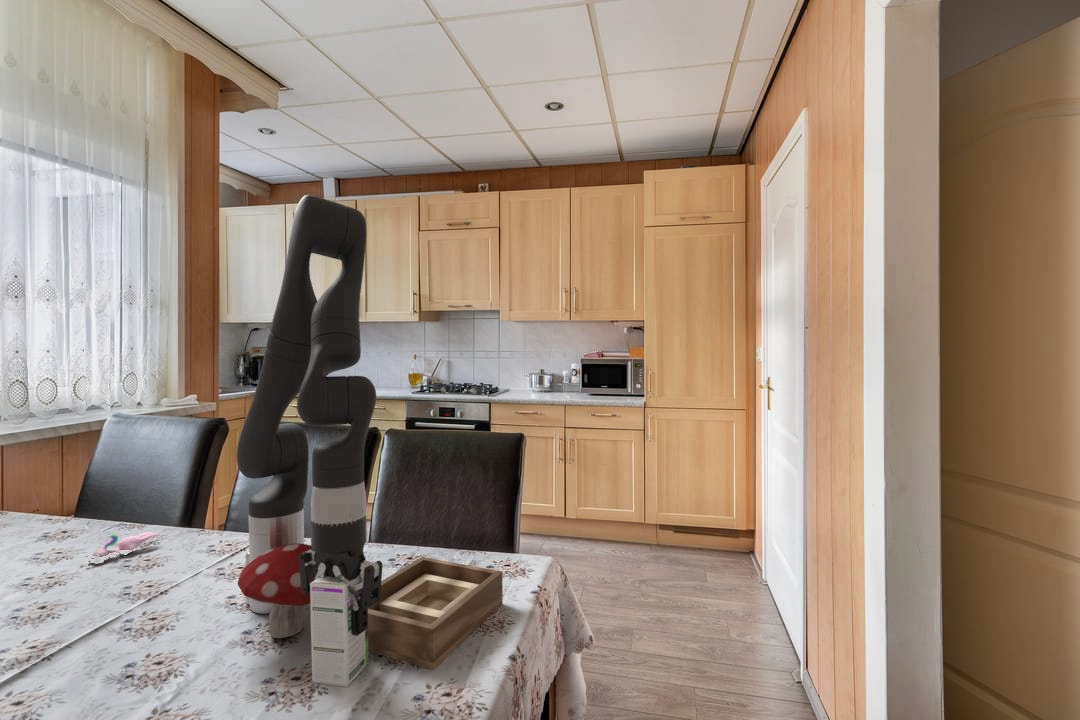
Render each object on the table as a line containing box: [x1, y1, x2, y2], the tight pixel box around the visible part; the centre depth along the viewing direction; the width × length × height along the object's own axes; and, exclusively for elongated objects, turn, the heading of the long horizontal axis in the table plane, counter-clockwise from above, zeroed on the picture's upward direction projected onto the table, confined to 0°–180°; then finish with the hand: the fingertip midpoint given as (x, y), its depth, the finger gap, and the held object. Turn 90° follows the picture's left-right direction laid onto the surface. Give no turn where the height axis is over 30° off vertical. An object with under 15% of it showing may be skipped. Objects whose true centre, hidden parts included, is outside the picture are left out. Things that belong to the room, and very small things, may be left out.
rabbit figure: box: [85, 531, 160, 559], centre depth 121 cm, size 6×6×15 cm
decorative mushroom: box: [237, 543, 312, 639], centre depth 87 cm, size 16×16×15 cm
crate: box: [368, 556, 503, 671], centre depth 91 cm, size 18×22×6 cm
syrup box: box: [309, 575, 370, 688], centre depth 76 cm, size 6×6×14 cm
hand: (340, 627), depth 76 cm, fingers closed on syrup box, 6 cm apart
